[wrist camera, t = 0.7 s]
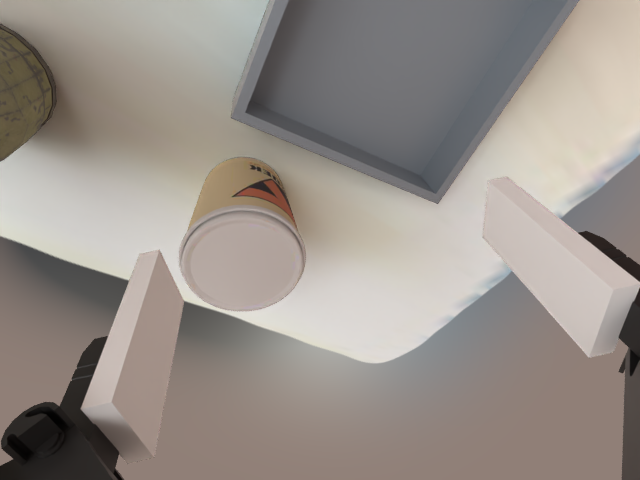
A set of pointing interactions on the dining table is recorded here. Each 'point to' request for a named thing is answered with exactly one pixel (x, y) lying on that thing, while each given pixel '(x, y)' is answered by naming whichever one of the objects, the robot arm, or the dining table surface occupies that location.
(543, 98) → the dining table surface
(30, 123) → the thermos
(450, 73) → the tray
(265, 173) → the coffee cup
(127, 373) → the robot arm
